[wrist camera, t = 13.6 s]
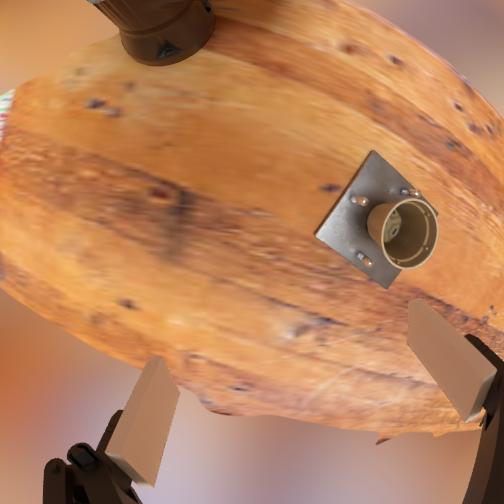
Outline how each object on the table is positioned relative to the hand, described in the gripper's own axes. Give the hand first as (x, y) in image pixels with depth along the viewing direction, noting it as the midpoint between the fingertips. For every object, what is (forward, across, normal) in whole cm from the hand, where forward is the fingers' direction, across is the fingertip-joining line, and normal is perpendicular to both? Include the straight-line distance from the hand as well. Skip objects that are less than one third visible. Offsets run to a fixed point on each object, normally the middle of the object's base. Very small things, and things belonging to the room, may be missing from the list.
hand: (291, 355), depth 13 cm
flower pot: (+29, +18, -2) cm, 34 cm away
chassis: (+30, +18, -2) cm, 35 cm away
